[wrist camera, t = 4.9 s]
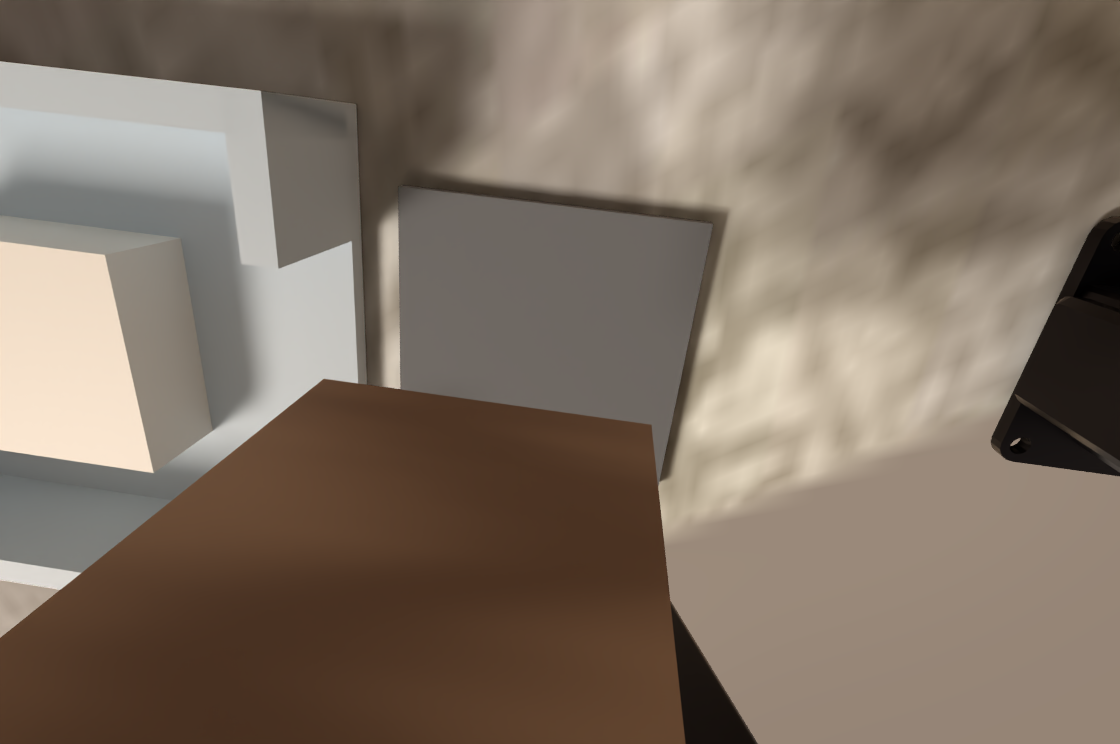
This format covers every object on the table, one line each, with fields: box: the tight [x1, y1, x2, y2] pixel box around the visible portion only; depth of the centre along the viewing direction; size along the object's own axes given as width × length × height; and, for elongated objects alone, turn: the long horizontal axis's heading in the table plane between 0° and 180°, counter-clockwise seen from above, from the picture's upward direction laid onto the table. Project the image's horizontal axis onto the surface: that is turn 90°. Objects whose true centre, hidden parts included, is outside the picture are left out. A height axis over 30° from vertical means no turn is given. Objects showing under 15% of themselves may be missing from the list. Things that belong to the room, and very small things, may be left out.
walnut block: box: [0, 379, 685, 744], centre depth 6 cm, size 4×4×6 cm
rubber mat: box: [398, 185, 713, 485], centre depth 16 cm, size 8×8×1 cm
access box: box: [0, 61, 367, 590], centre depth 15 cm, size 16×14×4 cm
